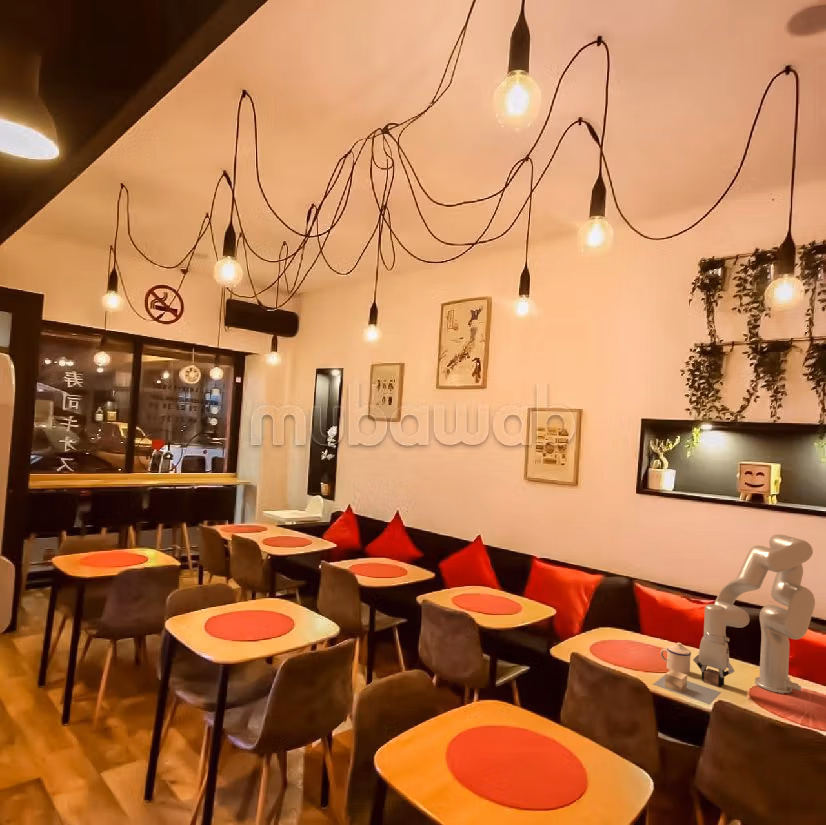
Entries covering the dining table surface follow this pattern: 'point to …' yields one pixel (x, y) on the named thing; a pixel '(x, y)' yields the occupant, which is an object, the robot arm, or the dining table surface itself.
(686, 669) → the teacup with lid
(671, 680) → the maple block
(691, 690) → the slate board
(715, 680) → the walnut block
